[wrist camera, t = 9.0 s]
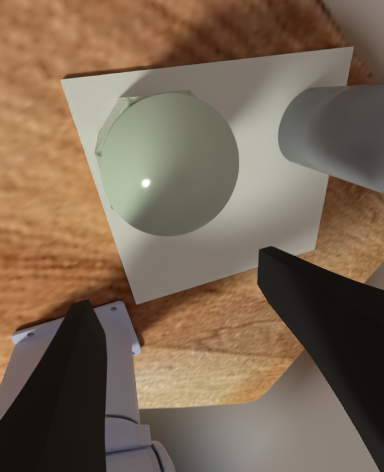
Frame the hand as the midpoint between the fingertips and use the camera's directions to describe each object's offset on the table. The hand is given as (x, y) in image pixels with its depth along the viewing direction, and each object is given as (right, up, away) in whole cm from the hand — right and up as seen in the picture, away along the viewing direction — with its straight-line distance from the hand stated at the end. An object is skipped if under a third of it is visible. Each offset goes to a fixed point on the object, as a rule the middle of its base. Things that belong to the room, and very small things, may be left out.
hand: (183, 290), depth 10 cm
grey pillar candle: (+10, +11, +9) cm, 17 cm away
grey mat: (+3, +6, +10) cm, 12 cm away
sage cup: (-3, +9, +6) cm, 11 cm away
